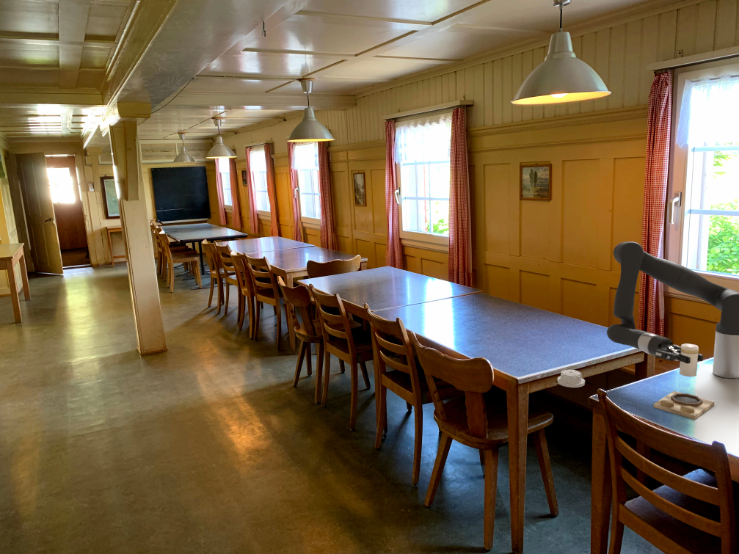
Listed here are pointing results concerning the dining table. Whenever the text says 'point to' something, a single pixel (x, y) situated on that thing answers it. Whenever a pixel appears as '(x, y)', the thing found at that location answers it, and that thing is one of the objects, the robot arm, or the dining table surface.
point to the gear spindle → (690, 368)
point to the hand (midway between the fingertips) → (695, 359)
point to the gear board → (684, 404)
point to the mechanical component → (571, 379)
